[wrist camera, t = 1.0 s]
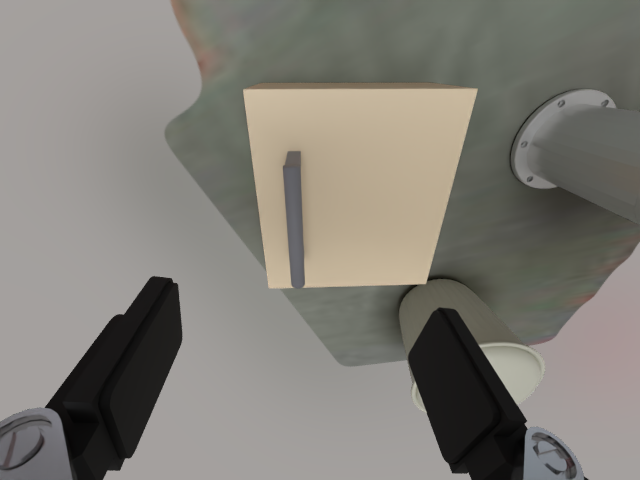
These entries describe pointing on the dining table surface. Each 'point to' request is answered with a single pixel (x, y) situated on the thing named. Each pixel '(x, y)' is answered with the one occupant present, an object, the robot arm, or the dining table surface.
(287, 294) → the dining table surface
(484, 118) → the dining table surface
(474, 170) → the dining table surface
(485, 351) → the canister
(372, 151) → the carton lid
